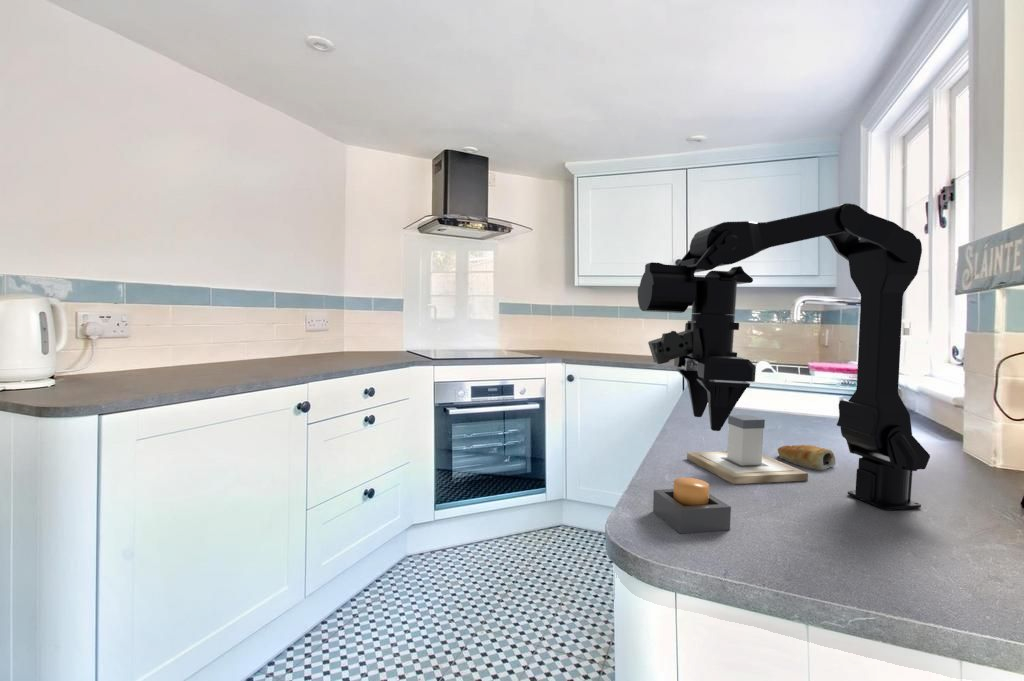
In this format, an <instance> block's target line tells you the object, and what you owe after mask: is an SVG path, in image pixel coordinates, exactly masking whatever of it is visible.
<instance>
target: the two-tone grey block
mask: <svg viewBox="0 0 1024 681" xmlns="http://www.w3.org/2000/svg"><path fill="white" fill-rule="evenodd" d="M765 422H766V419H765V418H764V419H763V418H760V417H758V416H754V415H752V414H730V415H729V416H728V418H727V424H728V431H727V432H728V434H727V451H728V452H727V459H729V460H731V461H733V462H735V463H737V464H739V465H762V455H763V444H764V442H763V441H764V429H765V427H766V426H765V424H766V423H765Z"/></svg>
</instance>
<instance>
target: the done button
mask: <svg viewBox="0 0 1024 681" xmlns="http://www.w3.org/2000/svg"><path fill="white" fill-rule="evenodd" d="M673 489H674V492H673V499H674V500H676V501H677V502H678V503H680V504H681V505H684V506H698V505H708V503H709V494H710V483H708V482H707V481H704V480H703V479H702V480H701V479H697V478H692V477H679V478H675V479H674V480H673Z"/></svg>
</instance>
